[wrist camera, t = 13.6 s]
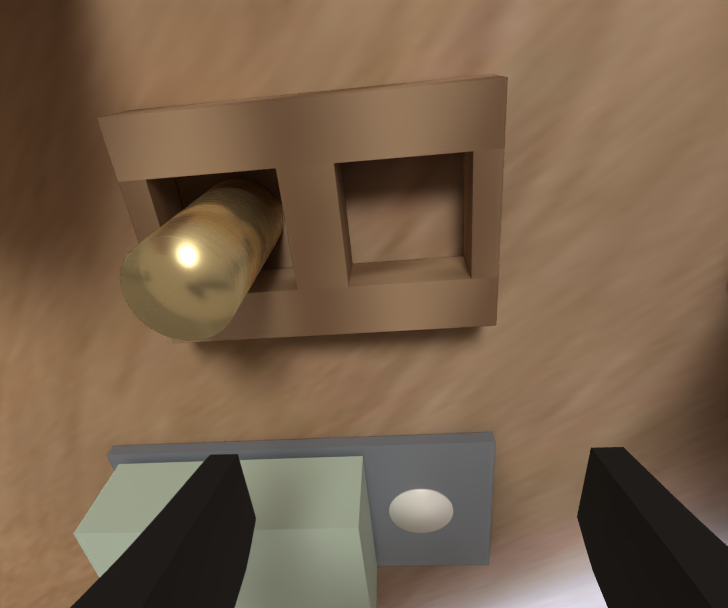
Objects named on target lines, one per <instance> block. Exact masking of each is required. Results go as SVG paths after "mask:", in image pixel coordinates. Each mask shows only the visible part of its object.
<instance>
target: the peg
mask: <svg viewBox="0 0 728 608" xmlns="http://www.w3.org/2000/svg"><path fill="white" fill-rule="evenodd" d="M282 227H283V218H282V213H281V209H280V207H279V205H278V203H277V201H276V199H275V198H274V197H273V195H272V194H271V193H270V192H269V191H268V190H267V189H266V188H264V187H263V186H261V185H260V184H258V183H256V182H254V181H251V180H248V179H243V178H231V179H227V180H223V181H221V182H219V183H218V184H216V185H215V186H213V187H212V188H211V189H209V190H208V191H207V192H205V193H204V194H203V195H202V196H200V197H199V198H198V199H196V200H195V201H194V202H192V203H191V204H190V205H189V206H187V207H186V208H185V209H183V210H182V211H181V212H179V213H178V214H177V215H176V216H174V217H173V218H172V219H170V220H169V221H168V222H166V223H165V224H164V225H162V226H161V227H160V228H159V229H157V230H156V231H155V232H153V233H152V234H151V235H149V236H148V237H147V238H146V239H144V240H143V241H142V242H140V243H139V244H138V245H136V246H135V247H134V248H133V249H132V250H131V251H130V252H129V253H128V255H127V256H126V258H125V260H124V262H123V265H122V268H121V274H120V282H121V288H122V292H123V295H124V297H125V300H126V302H127V303H128V305H129V307H130V308H131V310H132V311H133V312H134V314H135V315H136V316H137V317H138V318H139V319H140V320H141V321H142V322H143V323H144V324H146V325H147V326H148V327H150V328H151V329H153V330H155V331H156V332H158V333H160V334H162V335H165V336H167V337H170V338H174V339H178V340H185V341H195V340H202V339H207V338H209V337H212V336H214V335H216V334H218V333H219V332H221V331H222V330H223V329H224V328H225V327H226V326H227V325H228V324H229V323H230V321H231V320H232V318H233V316H234V315H235V313H236V311H237V309H238V308H239V306H240V304H241V303H242V301H243V299H244V298H245V296H246V294H247V292H248V291H249V289H250V287H251V286H252V284H253V282H254V280H255V279H256V277H257V275H258V274H259V272H260V270H261V269H262V267H263V265H264V263H265V262H266V260H267V258H268V257H269V255H270V253H271V252H272V250H273V248H274V246H275V245H276V243H277V241H278V240H279V237H280V235H281V232H282Z"/></svg>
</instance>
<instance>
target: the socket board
mask: <svg viewBox="0 0 728 608" xmlns="http://www.w3.org/2000/svg"><path fill="white" fill-rule="evenodd" d="M507 82H508V77H503V76H499V75H494V74H491V75H481V76H471V77H461V78H451V79H441V80H431V81H421V82H411V83H401V84H391V85H381V86H371V87H361V88H351V89H340V90H330V91H320V92H310V93H300V94H290V95H280V96H270V97H260V98H250V99H240V100H230V101H220V102H210V103H200V104H190V105H180V106H170V107H160V108H149V109H139V110H129V111H125V112H121V113H116V114H112V115H108V116H103V117H99V118H97V120H98V123H99V126H100V129H101V132H102V135H103V138H104V141H105V144H106V147H107V150H108V153H109V156H110V159H111V162H112V165H113V168H114V171H115V174H116V177H117V180H118V183H119V186H120V188H121V191H122V194H123V197H124V200H125V203H126V206H127V209H128V212H129V215H130V218H131V221H132V224H133V227H134V230H135V233H136V236H137V239H138V242H139V243H140V242H142V241H143V240H144V239H146V238H147V237H148V236H149V235H151V234H152V233H153V232H155V231H156V230H157V229H159V228H160V227H161V226H162V225H164V224H165V223H166V222H168V221H169V220H170V219H172V218H173V217H174V216H176V215H177V214H178V213H179V212H181V211H182V210H183V206H182V203H181V199H180V195H179V192H178V188H177V185H176V181H175V178H174V177H180V176H192V175H203V174H215V173H226V172H238V171H250V170H261V169H273V168H276V172H277V178H278V183H279V189H280V195H281V200H282V206H283V211H284V217H285V223H286V228H287V234H288V239H289V245H290V251H291V256H292V262H293V267H294V268H282V269H267V270H260V272H259V274H258V275H257V277H256V279H255V280H254V282H253V284H252V286H251V287H250V289H249V291H248V292H247V294H246V296H245V298H244V299H243V301H242V303H241V304H240V306H239V308H238V309H237V311H236V313H235V315H234V316H233V318H232V320H231V321H230V323H229V324H228V325H227V326H226V327H225V328H224V329H223V330H222V331H221V332H219V333H218V334H216V335H214V336H212V337H209V338H207V339H202V340H195V341H185V340H178V339H174V338H171V339H172V342H173V343H188V342H206V341H224V340H242V339H260V338H278V337H296V336H315V335H333V334H351V333H369V332H387V331H405V330H423V329H441V328H459V327H477V326H495V325H496V321H497V299H498V277H499V256H500V234H501V212H502V190H503V169H504V147H505V125H506V103H507ZM458 152H464V212H463V256H459V257H444V258H429V259H415V260H400V261H385V262H371V263H356V264H352V255H351V247H350V238H349V229H348V220H347V211H346V203H345V194H344V185H343V176H342V167H341V163H342V162H354V161H366V160H377V159H389V158H400V157H412V156H423V155H435V154H447V153H458Z"/></svg>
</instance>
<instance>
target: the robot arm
mask: <svg viewBox="0 0 728 608" xmlns="http://www.w3.org/2000/svg"><path fill="white" fill-rule="evenodd" d="M577 518H578V522H579V525H580V529H581V532H582V536H583V539H584V543H585V547H586V550H587V553H588V556H589V560H590V563H591V566H592V569H593V572H594V575H595V577H596V580H597V582H598V585H599V587H600V590H601V592H602V594H603V597H604V599H605V602H606V604H607V607H608V608H728V546H727V545H726V544H725V543H723V542H722V541H721V540H720V539H719V538H718V537H717V536H716V535H715V534H714V533H712V532H711V531H710V530H709V529H708V528H707V527H706V526H705V525H704V524H703V523H702V522H701V521H699V520H698V519H697V518H696V517H695V516H694V515H693V514H692V513H691V512H690V511H689V510H688V509H687V508H686V507H685V506H684V505H683V504H682V503H681V502H679V501H678V500H677V499H676V498H675V497H674V496H673V495H672V494H671V493H670V492H669V491H668V490H667V489H666V488H665V487H664V486H663V485H662V484H661V483H660V482H659V481H658V480H657V479H656V478H655V477H654V476H653V475H652V474H651V473H650V472H648V471H647V470H646V469H645V468H644V467H643V466H642V465H641V464H640V463H639V462H638V461H637V460H636V459H635V458H634V457H633V456H632V455H631V454H630V453H629V452H628V451H627V450H626V449H625V448H624V447H605V448H591V450H590V455H589V460H588V465H587V470H586V475H585V480H584V485H583V490H582V495H581V500H580V505H579V510H578V515H577ZM255 522H256V516H255V512H254V509H253V505H252V502H251V498H250V495H249V491H248V488H247V484H246V481H245V477H244V474H243V470H242V467H241V463H240V460H239V456H238V454H210V455H209V456H208V457H207V458H206V459H205V461H204V462H203V463H202V464H201V465H200V466H199V467H198V469H197V470H196V471H195V472H194V473H193V474H192V476H191V477H190V478H189V479H188V480H187V481H186V483H185V484H184V485H183V486H182V487H181V488H180V490H179V491H178V492H177V493H176V494H175V495H174V497H173V498H172V499H171V500H170V501H169V502H168V504H167V505H166V506H165V507H164V508H163V509H162V510H161V512H160V513H159V514H158V515H157V516H156V517H155V518H154V519H153V521H152V522H151V523H150V524H149V525H148V526H147V527H146V528H145V530H144V531H143V532H142V533H141V534H140V535H139V536H138V537H137V538H136V540H135V541H134V542H133V543H132V544H131V545H130V546H129V547H128V548H127V550H126V551H125V552H124V553H123V554H122V555H121V556H120V557H119V558H118V559H117V560H116V561H115V562H114V563H113V564H112V565H111V566H110V567H109V569H108V570H107V571H106V572H105V573H104V574H103V575H102V576H101V577H100V578H99V579H98V580H97V581H96V582H95V583H94V584H93V585H92V586H91V587H90V588H89V589H88V590H87V591H86V592H85V593H84V594H83V595H82V596H81V597H80V598H79V599H78V600H77V601H76V602H75V603H74V604H73V605H72V606H71V607H70V608H235V605H236V602H237V599H238V595H239V592H240V589H241V586H242V582H243V579H244V576H245V572H246V569H247V564H248V559H249V554H250V549H251V544H252V539H253V533H254V528H255Z"/></svg>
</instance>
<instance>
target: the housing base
mask: <svg viewBox="0 0 728 608" xmlns="http://www.w3.org/2000/svg"><path fill="white" fill-rule="evenodd" d="M210 454H238V456H239V460H256V459H286V458H317V457H347V456H363V461H364V469H365V476H366V484H367V492H368V500H369V507H370V515H371V523H372V530H373V538H374V546H375V554H376V561H377V566H438V565H489V552H490V532H491V513H492V494H493V474H494V455H495V439H494V435H493V432H485V433H457V434H430V435H403V436H375V437H348V438H321V439H293V440H266V441H239V442H211V443H184V444H157V445H129V446H113V447H112V448H111V450H110V451H109V453H108V454H107V457H108V459H109V461H110V463H111V465H112V468H113V470H114V471H115V469H116V468H117V466H118V465H119V464H136V463H166V462H196V461H205V459H206V458H207V457H208V456H209V455H210Z"/></svg>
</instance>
